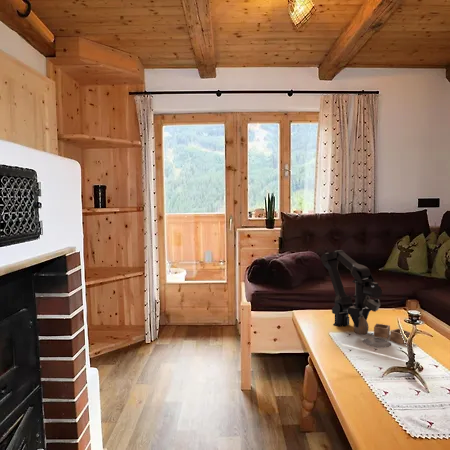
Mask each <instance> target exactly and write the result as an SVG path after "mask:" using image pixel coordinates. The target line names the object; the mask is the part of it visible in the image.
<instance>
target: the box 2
mask: <svg viewBox="0 0 450 450" xmlns="http://www.w3.org/2000/svg"><path fill="white" fill-rule="evenodd" d="M400 329H401V328H396V329H393V330H390V335H389V342H394V343H397V344H400V345H405V344H404V340H403V338H402V335H401V333H400ZM402 330H403V331H404V334H405V335H406V337H407V338H408V337H409V335H410V336H411V332H410V331H408V330H404V329H402Z"/></svg>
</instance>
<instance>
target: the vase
mask: <svg viewBox="0 0 450 450" xmlns="http://www.w3.org/2000/svg"><path fill="white" fill-rule="evenodd" d="M369 327H370V326H369V323H368V321H366V320H365V318H364V316H360V318H359V325H358V327H355V325H354V324H353V330H354V332H355V334H358V335H367V334H368V332H369Z"/></svg>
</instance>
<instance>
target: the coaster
mask: <svg viewBox="0 0 450 450" xmlns="http://www.w3.org/2000/svg"><path fill="white" fill-rule="evenodd" d="M362 342H363V344H365V345H366V346H369V347H373V348H379V349H381V348H382V349H384V348H386V349H387V348H390V347H391V346H392V343H391V341H390V340H387V339H385V338H380V337H368V338H367V337H366V338H364V339H363V340H362Z"/></svg>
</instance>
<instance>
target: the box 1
mask: <svg viewBox="0 0 450 450" xmlns="http://www.w3.org/2000/svg"><path fill="white" fill-rule="evenodd" d="M390 331H391V325H389V324H383V323H376V324H375V325H374V327H373V336H374V337H375V338H381V339H388V338H390Z"/></svg>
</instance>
